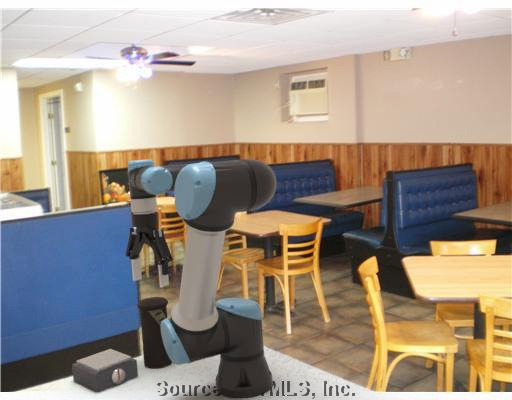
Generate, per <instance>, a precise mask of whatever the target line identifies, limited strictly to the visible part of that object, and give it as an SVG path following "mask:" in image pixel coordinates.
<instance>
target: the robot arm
mask: <svg viewBox="0 0 512 400" xmlns="http://www.w3.org/2000/svg"><path fill="white" fill-rule="evenodd" d="M127 178H128V186H129V197H130V199H129V200H130V211H131V212H132V215H131V220H132V226H133V227H130V228H129V237H128V242H127V245H126V251H125V257H127V258H129V259H130V262H131V263H130V264H131V271H132V281H133V282H137V281H139V280H140V281H141V280H142V279H143V278H142V277H143V276H142V266H141V265H142V264H141V257H140V254H141V251H142V249H143V247H144V245H148V246H149V247H151V248H150V249H151V250H152V251H153V253H154V255H155V257H156V259H157V261H158V264H157V267H158V278H159V287H160V288H162V287H166V286H169V285H170V282H169V281H170V280H169V272H170V271H169V264H170V263H171V262H173V260H174V258H173V256H172V254H171V250H170V248H169V245H168V243H167V240H166V237H165V232H164V229H162V228H160V229H157V226H158V224H159V214H158V212H157V211H158V203H157V195H164V194H166V193H173V197H174V206H175V209H176V212H177V214H178V216H179V217H180V218H181V219H182V222H183V223H184V224H185V226H187V229H186V237H185V247H184V254H183V255H184V256H183V263H182V271H181V272H182V273H181V279H180V281H181V282H180V290H179V299H178V302H177V303H175V305H173V307H172V308H171V310H170V311H171V313H170V318H166V319H165V320H163V321H162V322H161V335H162V340H163V343H164V347H165V349H166V352H167V354H168V356H169V358H170V360H171V361H172V363H173V364H174V365H176V366H177V365H178V366H180V365H186V364H191V363H194V362H198V361H201V360H205V359H208V358H213V357H215V356H220V357H219V358H220V360H219V364H218V369H217V374H216V377H215V389H216V391H217V392H218V393H219V394H221V395H223V396H226V397H229V398H250V397H255V396H256V397H257V396H259V395H261V394H264V393H266V392H267V391H269V390H270V389H271V388H272V387H273V384H274V383H273V374H272V371H271V369H270V366H269V364H268V361H267V359H266V356H265V349H264V333H263V320H264V319H263V316H262V308H261V305H260V304H259V303H258V302H257V301H255V300H253V299H249V298H242V297H225V298H220V299H218V300H217V301H216V296H217V288H218V283H219V278H220V276H219V275H220V269H221V263H222V256H223V251H224V244H225V238H226V232H227V231H229V230H231V229H232V227H233V226H234V224H235V219H236V214H237V213H244V212H250V211H254V210H258V209H260V208H263V207H264V206H265V205H267V204H268V203H269V202H270V201H271V200H272V199H273V197H274V196H275V192H276V190H277V189H276V188H277V178H276V174H275V172H274V170H273V169H272V168H271V166H269V164H267V163H265V162H263V161H261V160H259V159H253V158H252V159H251V158H241V159H231V160H221V161H220V160H219V161H200V162H198V163H197V162H196V163H186V164H173V165H172V164H171V165H160V166H155V165H154V161H153V160H152V159H135V160H129V161H128V163H127Z"/></svg>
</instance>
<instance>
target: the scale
mask: <svg viewBox="0 0 512 400" xmlns="http://www.w3.org/2000/svg"><path fill="white" fill-rule="evenodd" d="M71 367H72V368H71V370H72V378H73V379H72V380H73V382H74V383H76V384H77V385H80V386H82V387H84V388H86V389H89V390H90V391H91V392H94V393H96V392H99V393H101V392H103V391H106V390H108V389H111V388H114V387H116V386H119V385H121V384H123V383H126V382H128V381H130V380H133V379H135V378H138V377H139V371H138V360H137V358H136V359H135V358H133V357H132V356H130V355H128V354H126V353H123V352H120V351H117V350H114V349H112V348H109V349H106V350H103V351H100V352H98V353H94V354H92V355H89V356H86V357H83V358H80V359H76V362H75V363H72V364H71Z"/></svg>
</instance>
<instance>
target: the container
mask: <svg viewBox="0 0 512 400" xmlns="http://www.w3.org/2000/svg"><path fill="white" fill-rule="evenodd" d="M168 305H169V299H167V298H166V297H164V296H162V297H161V296H152V297H151V296H150V297H146V298H144V299H143V298H142V299H141V300H139V302H137V309H138V310H139V312H140V314H139V315H140V325H141V327H140V328H141V340H142V354H143V364H144V366H145V367H146V368H148V369H149V368H150V369H161V368H165V367H167V366H169V365H171V364H172V363H173V362H172V361H171V360H170V358H169V356H168V354H167V352H166V349H165V347H164V343H163V340H162V335H161V322H162V321H163V320H165V319H166V318H168ZM168 319H169V318H168ZM164 366H165V367H164Z"/></svg>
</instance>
